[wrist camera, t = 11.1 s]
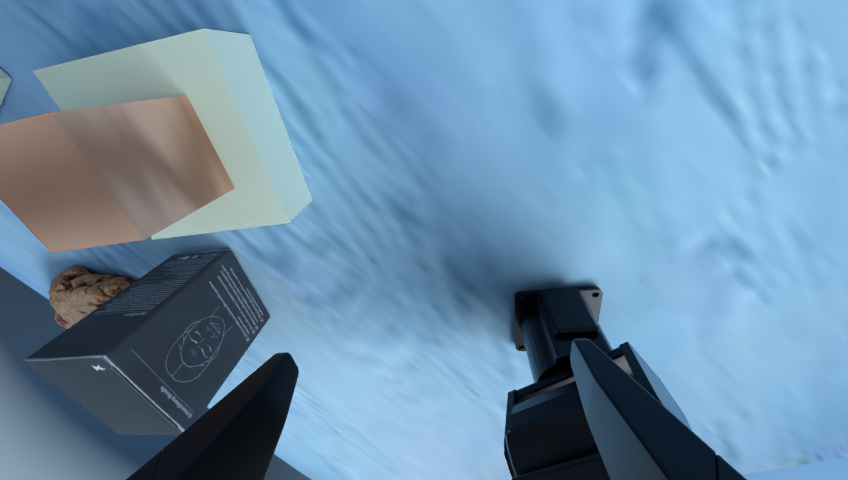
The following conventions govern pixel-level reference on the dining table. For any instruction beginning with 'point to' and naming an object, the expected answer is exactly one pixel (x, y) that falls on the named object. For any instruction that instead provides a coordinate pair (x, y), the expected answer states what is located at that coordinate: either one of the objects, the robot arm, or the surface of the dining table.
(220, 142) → the sage base block
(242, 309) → the box
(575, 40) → the dining table surface
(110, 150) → the terracotta block
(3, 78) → the skincare box
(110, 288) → the cookie
